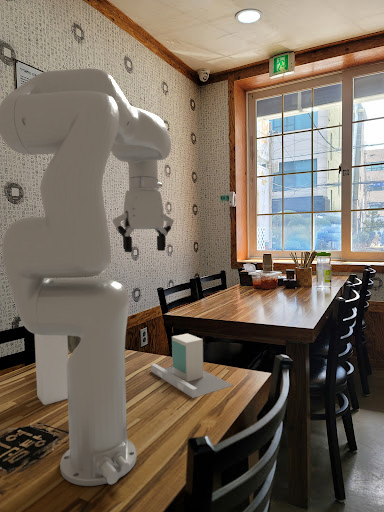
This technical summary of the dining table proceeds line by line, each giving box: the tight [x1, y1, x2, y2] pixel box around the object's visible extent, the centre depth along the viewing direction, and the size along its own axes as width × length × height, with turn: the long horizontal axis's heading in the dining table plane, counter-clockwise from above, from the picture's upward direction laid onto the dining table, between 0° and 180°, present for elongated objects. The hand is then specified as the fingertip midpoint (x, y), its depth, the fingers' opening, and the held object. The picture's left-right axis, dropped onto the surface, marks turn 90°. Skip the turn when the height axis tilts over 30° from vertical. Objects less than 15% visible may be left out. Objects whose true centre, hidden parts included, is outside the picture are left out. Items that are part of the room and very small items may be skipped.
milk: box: [34, 334, 69, 406], centre depth 88 cm, size 6×6×22 cm
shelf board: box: [150, 363, 234, 399], centre depth 95 cm, size 20×12×4 cm, turn 34°
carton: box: [171, 333, 204, 382], centre depth 97 cm, size 7×5×10 cm
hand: (145, 251), depth 98 cm, fingers open, 9 cm apart
